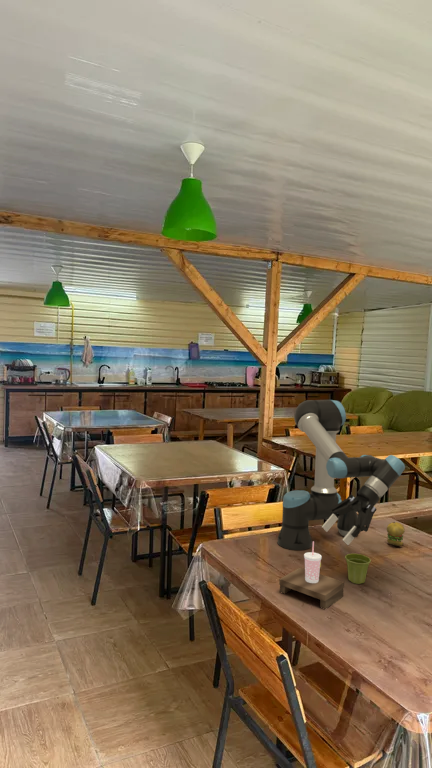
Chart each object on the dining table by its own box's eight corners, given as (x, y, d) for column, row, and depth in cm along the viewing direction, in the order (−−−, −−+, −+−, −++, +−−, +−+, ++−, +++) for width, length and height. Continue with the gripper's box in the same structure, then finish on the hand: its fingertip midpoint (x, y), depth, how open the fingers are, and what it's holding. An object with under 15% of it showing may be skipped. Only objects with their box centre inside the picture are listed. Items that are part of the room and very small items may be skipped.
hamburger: (405, 545, 232) (406, 519, 232) (401, 550, 226) (403, 523, 225) (388, 542, 236) (389, 516, 236) (383, 546, 230) (385, 520, 230)
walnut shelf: (278, 592, 182) (279, 579, 182) (299, 580, 193) (299, 567, 193) (324, 610, 171) (325, 595, 170) (343, 595, 181) (344, 581, 181)
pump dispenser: (333, 531, 248) (334, 500, 248) (354, 531, 249) (355, 500, 248) (340, 539, 238) (341, 506, 237) (361, 539, 239) (363, 506, 238)
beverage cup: (317, 585, 177) (318, 545, 177) (300, 581, 181) (301, 542, 180) (323, 579, 183) (324, 540, 182) (306, 575, 186) (308, 537, 185)
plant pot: (370, 577, 197) (371, 555, 197) (369, 588, 188) (370, 564, 188) (345, 573, 200) (346, 551, 200) (342, 583, 191) (344, 560, 191)
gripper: (400, 508, 176) (361, 555, 172) (357, 489, 200) (322, 530, 196) (388, 494, 174) (348, 541, 170) (346, 476, 198) (310, 517, 194)
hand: (334, 535), depth 183 cm, fingers open, 13 cm apart
